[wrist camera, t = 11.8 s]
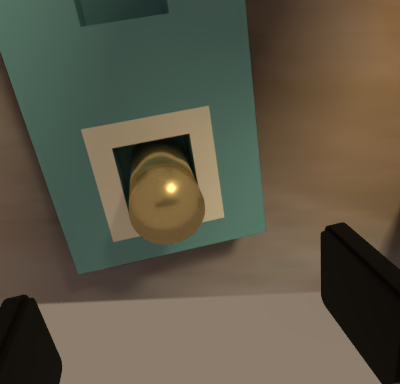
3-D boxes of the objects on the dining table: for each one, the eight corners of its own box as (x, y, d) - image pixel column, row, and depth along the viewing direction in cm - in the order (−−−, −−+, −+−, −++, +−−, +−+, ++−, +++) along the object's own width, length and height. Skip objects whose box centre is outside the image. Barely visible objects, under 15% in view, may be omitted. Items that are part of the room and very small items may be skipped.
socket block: (-33, -121, 20) (-77, -167, 16) (209, -147, 21) (228, -196, 17) (85, 243, 29) (77, 275, 25) (248, 207, 31) (266, 232, 27)
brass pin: (126, 139, 26) (121, 182, 18) (180, 131, 26) (200, 169, 18) (136, 189, 27) (136, 250, 19) (187, 181, 28) (209, 237, 19)
